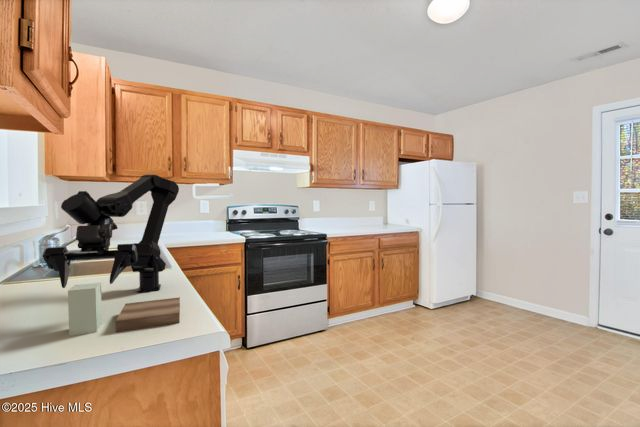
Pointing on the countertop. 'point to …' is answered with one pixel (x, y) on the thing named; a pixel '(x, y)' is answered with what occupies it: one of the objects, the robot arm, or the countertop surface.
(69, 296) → the sage block
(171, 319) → the walnut stand
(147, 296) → the countertop surface
